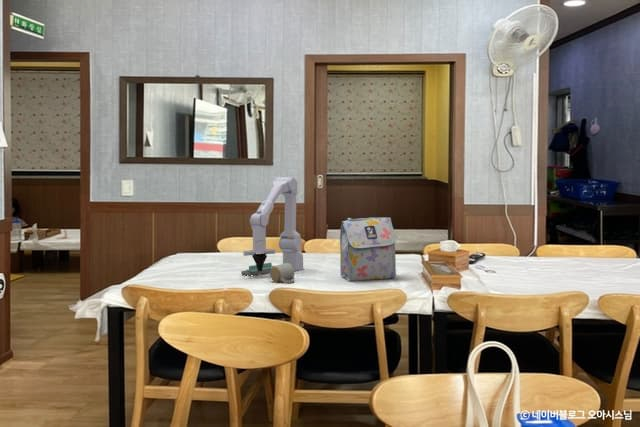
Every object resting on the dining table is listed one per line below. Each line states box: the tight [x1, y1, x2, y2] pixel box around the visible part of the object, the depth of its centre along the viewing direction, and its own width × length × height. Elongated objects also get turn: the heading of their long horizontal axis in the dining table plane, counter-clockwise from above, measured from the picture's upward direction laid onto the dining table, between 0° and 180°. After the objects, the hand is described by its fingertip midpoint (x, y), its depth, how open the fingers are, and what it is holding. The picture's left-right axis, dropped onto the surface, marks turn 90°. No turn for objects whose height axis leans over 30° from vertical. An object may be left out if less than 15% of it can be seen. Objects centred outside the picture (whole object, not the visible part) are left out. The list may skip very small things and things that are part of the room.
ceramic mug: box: [269, 263, 295, 285], centre depth 300 cm, size 11×8×8 cm
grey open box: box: [240, 269, 271, 277], centre depth 323 cm, size 17×6×2 cm, turn 133°
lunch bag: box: [339, 217, 397, 282], centre depth 307 cm, size 22×17×26 cm
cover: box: [245, 262, 275, 272], centre depth 323 cm, size 16×5×2 cm, turn 140°
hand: (259, 270), depth 313 cm, fingers closed
